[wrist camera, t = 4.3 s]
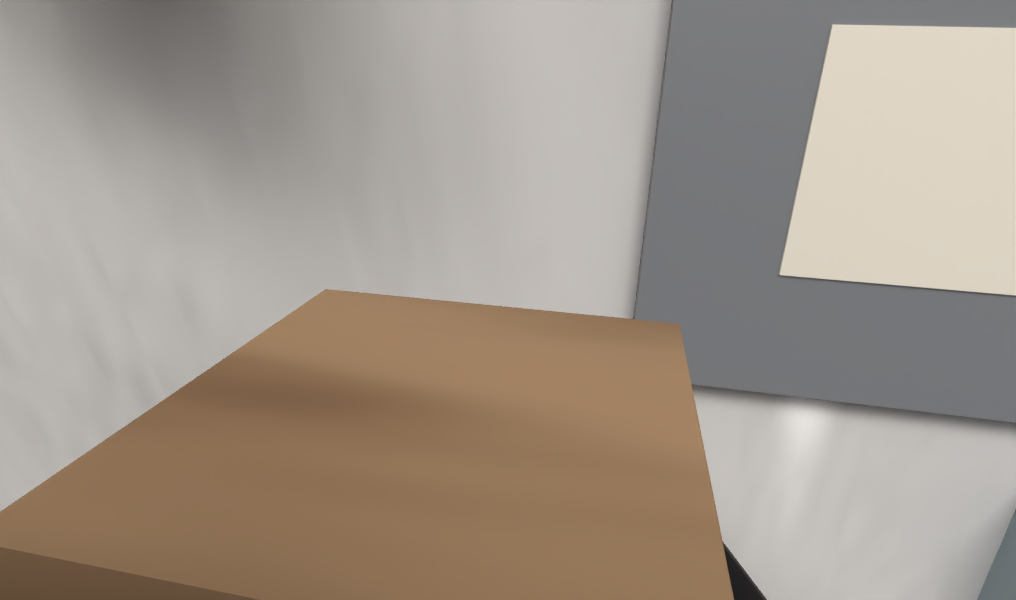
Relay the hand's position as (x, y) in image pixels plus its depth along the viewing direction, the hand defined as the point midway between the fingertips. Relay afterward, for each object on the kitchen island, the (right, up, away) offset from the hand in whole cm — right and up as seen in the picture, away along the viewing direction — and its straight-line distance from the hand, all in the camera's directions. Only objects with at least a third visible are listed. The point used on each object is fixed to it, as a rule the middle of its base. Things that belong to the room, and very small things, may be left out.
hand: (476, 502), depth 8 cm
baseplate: (+12, +7, +8) cm, 15 cm away
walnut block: (0, 0, +1) cm, 1 cm away
